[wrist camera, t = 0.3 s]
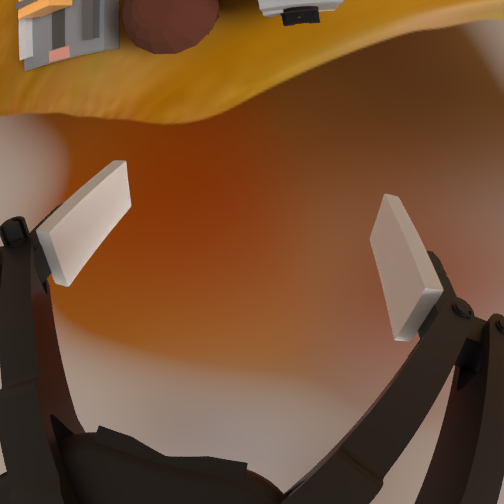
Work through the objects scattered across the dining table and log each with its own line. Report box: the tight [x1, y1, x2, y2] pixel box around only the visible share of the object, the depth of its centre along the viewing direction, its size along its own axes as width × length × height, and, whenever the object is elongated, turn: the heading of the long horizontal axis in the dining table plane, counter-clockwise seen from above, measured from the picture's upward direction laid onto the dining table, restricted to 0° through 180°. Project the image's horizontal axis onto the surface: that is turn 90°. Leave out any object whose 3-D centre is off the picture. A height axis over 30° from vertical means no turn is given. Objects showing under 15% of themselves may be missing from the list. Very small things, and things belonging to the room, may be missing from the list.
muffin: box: [121, 0, 220, 54], centre depth 26 cm, size 12×11×10 cm
